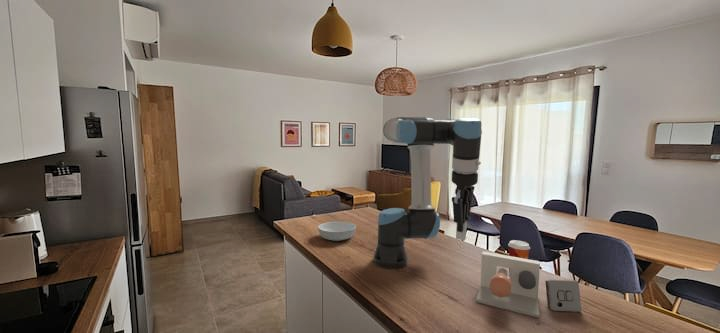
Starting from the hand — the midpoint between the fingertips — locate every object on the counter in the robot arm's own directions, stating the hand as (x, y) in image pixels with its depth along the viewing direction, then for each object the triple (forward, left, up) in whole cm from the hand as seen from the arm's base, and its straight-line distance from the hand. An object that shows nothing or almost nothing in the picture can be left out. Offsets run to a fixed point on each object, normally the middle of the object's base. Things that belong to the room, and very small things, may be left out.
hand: (460, 238), depth 97 cm
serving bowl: (-60, +52, -22) cm, 82 cm away
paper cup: (+24, +26, -22) cm, 42 cm away
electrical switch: (+32, +6, -22) cm, 40 cm away
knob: (+14, +5, -17) cm, 23 cm away
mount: (+16, +7, -22) cm, 28 cm away
